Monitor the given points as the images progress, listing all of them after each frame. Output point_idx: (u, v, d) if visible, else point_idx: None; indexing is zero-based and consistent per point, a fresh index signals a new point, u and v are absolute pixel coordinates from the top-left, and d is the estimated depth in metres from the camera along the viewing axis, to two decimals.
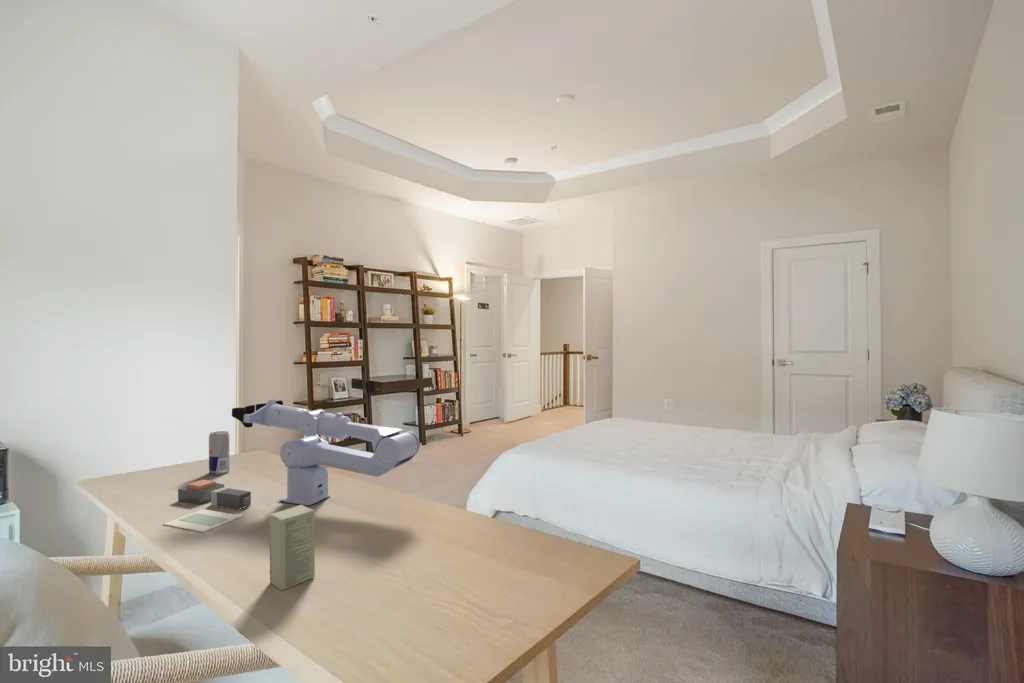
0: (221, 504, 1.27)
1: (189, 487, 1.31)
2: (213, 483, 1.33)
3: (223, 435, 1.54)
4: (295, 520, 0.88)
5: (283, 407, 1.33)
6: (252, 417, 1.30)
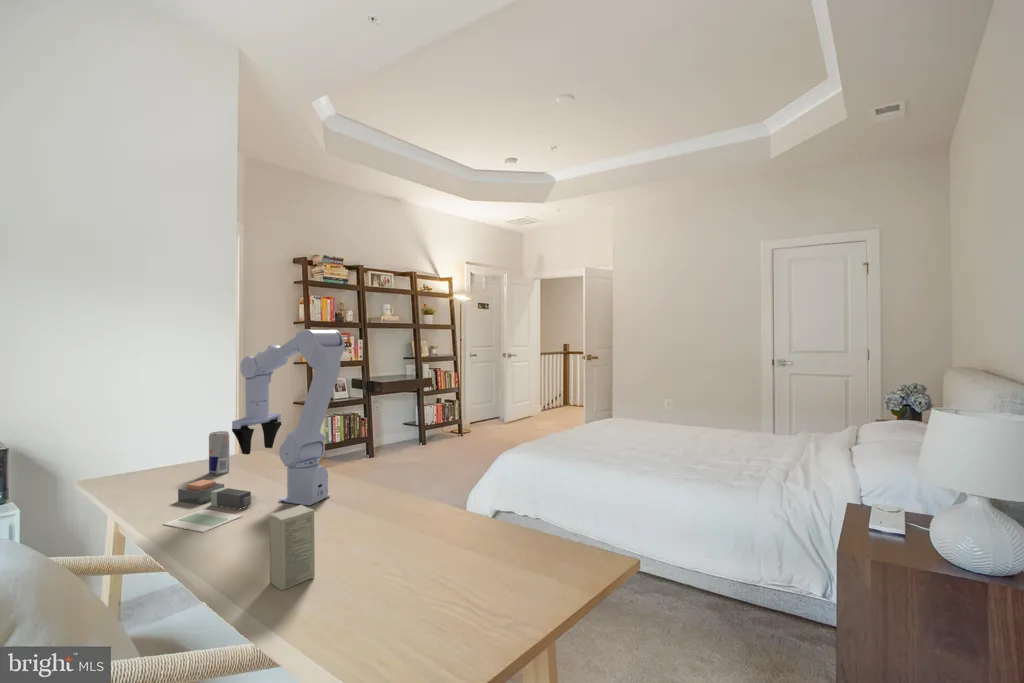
0: (221, 504, 1.27)
1: (189, 487, 1.31)
2: (213, 483, 1.33)
3: (223, 435, 1.54)
4: (295, 520, 0.88)
5: None
6: None
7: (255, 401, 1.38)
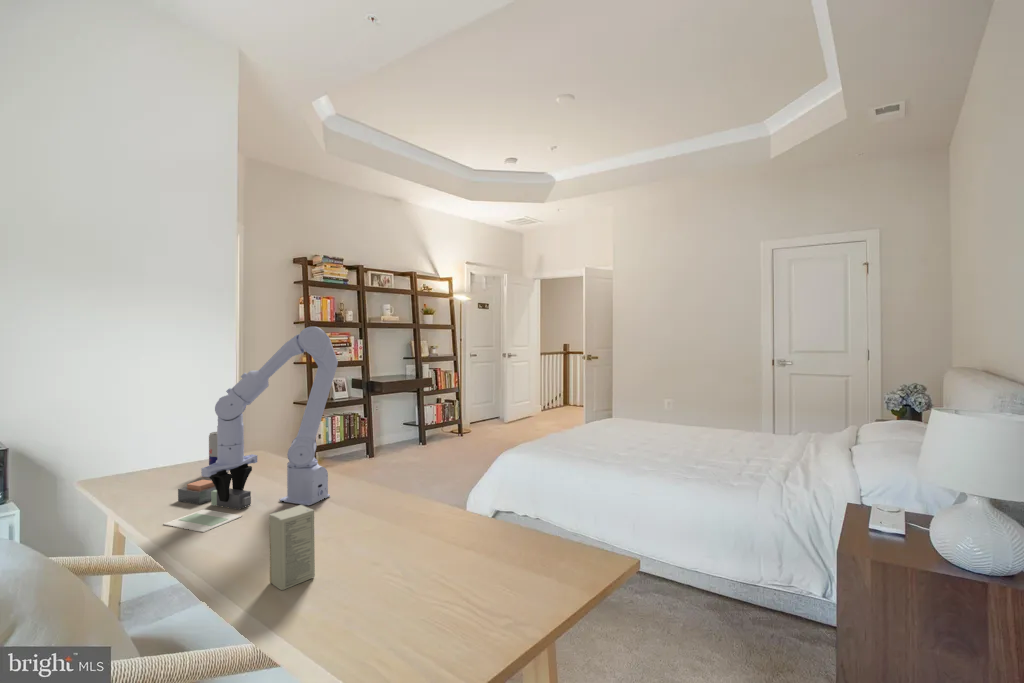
0: (221, 504, 1.27)
1: (189, 487, 1.31)
2: None
3: None
4: (295, 520, 0.88)
5: None
6: None
7: (228, 445, 1.25)
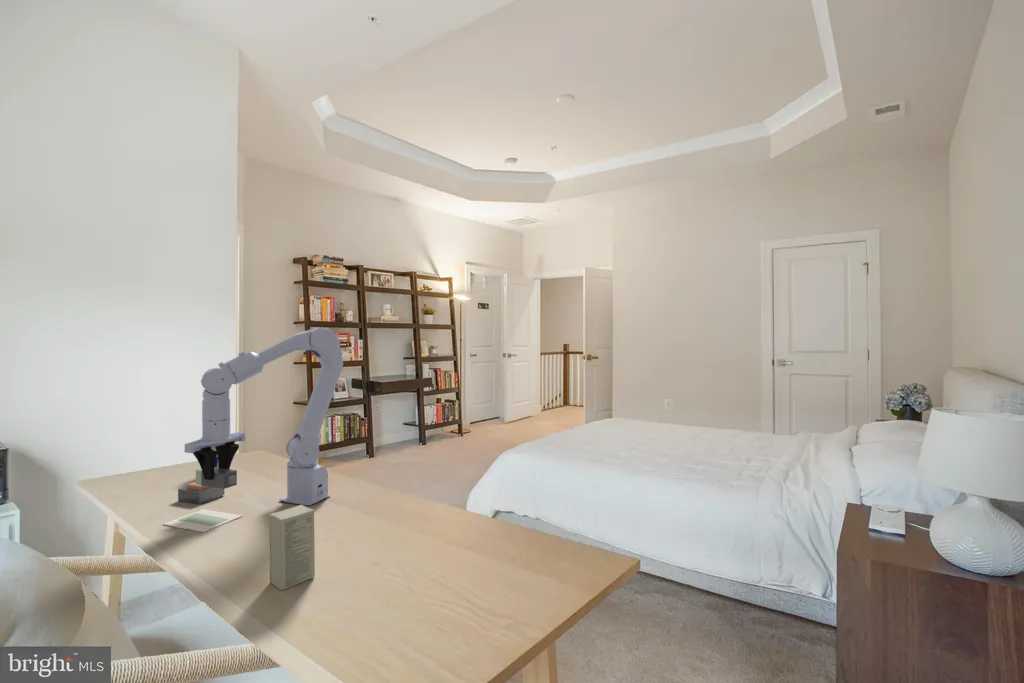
0: (206, 483, 1.21)
1: (189, 487, 1.31)
2: None
3: None
4: (295, 520, 0.88)
5: None
6: None
7: (213, 420, 1.19)
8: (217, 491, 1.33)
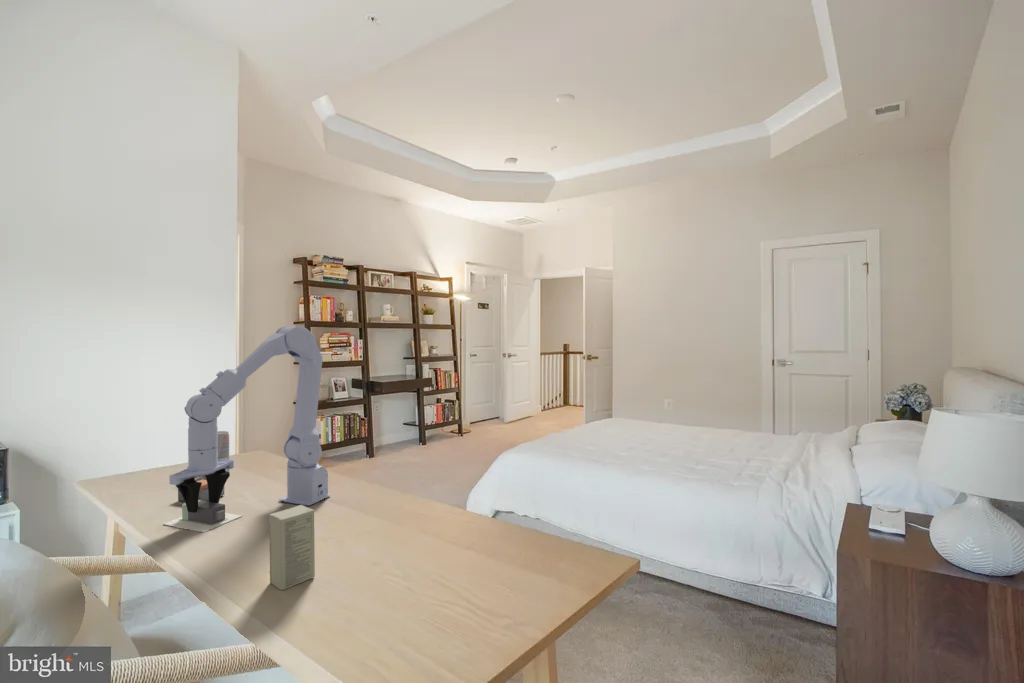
0: (193, 518, 1.16)
1: None
2: None
3: (223, 435, 1.54)
4: (295, 520, 0.88)
5: None
6: None
7: (199, 449, 1.15)
8: None
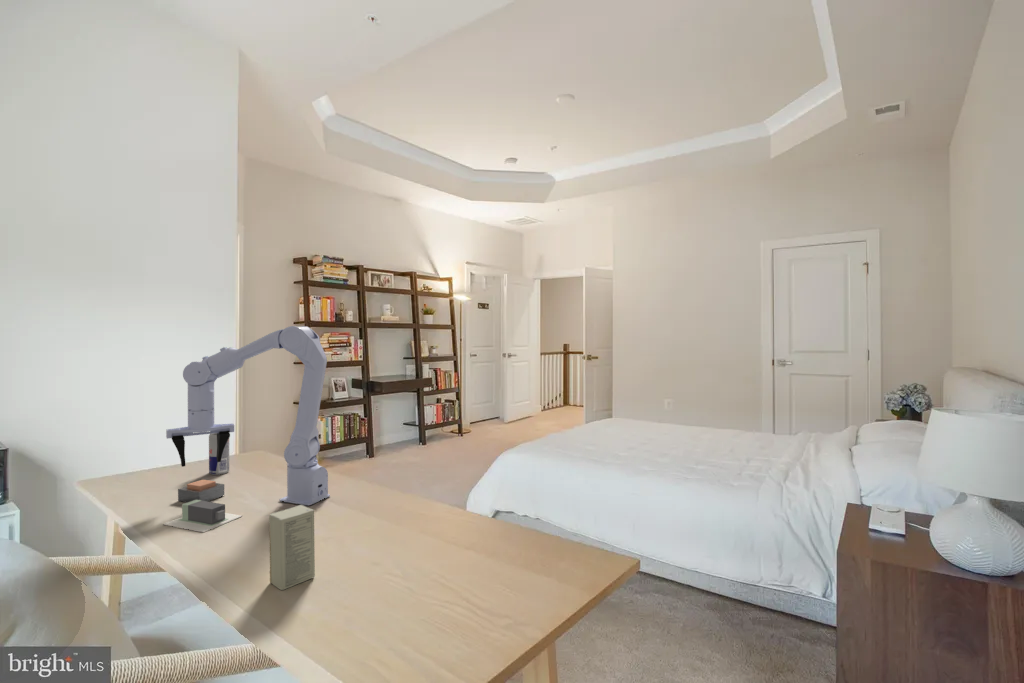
0: (193, 518, 1.16)
1: (189, 487, 1.31)
2: (213, 483, 1.33)
3: None
4: (295, 520, 0.88)
5: None
6: None
7: (191, 410, 1.28)
8: (217, 491, 1.33)
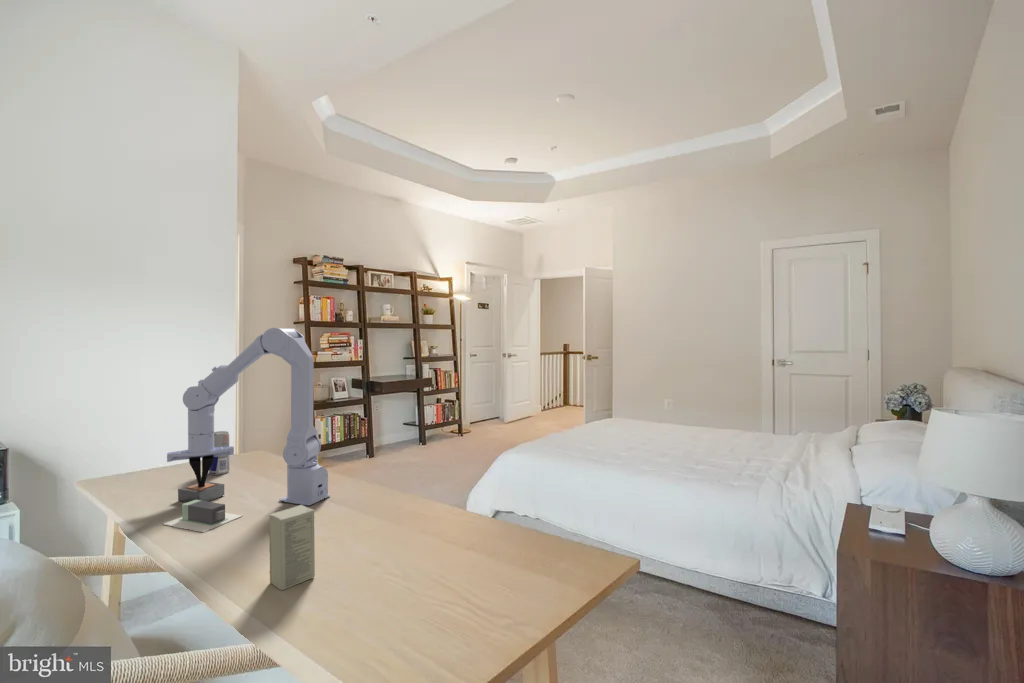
0: (193, 518, 1.16)
1: None
2: None
3: (223, 435, 1.54)
4: (295, 520, 0.88)
5: None
6: None
7: (190, 434, 1.30)
8: (217, 491, 1.33)
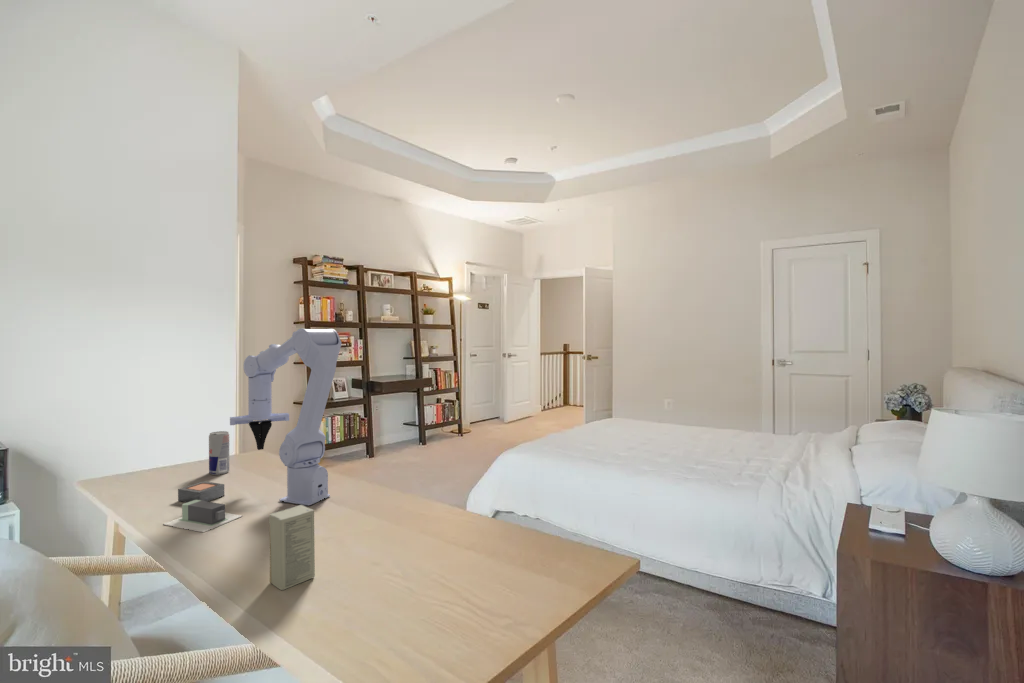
0: (193, 518, 1.16)
1: None
2: None
3: (223, 435, 1.54)
4: (295, 520, 0.88)
5: None
6: None
7: (251, 400, 1.40)
8: (217, 491, 1.33)
